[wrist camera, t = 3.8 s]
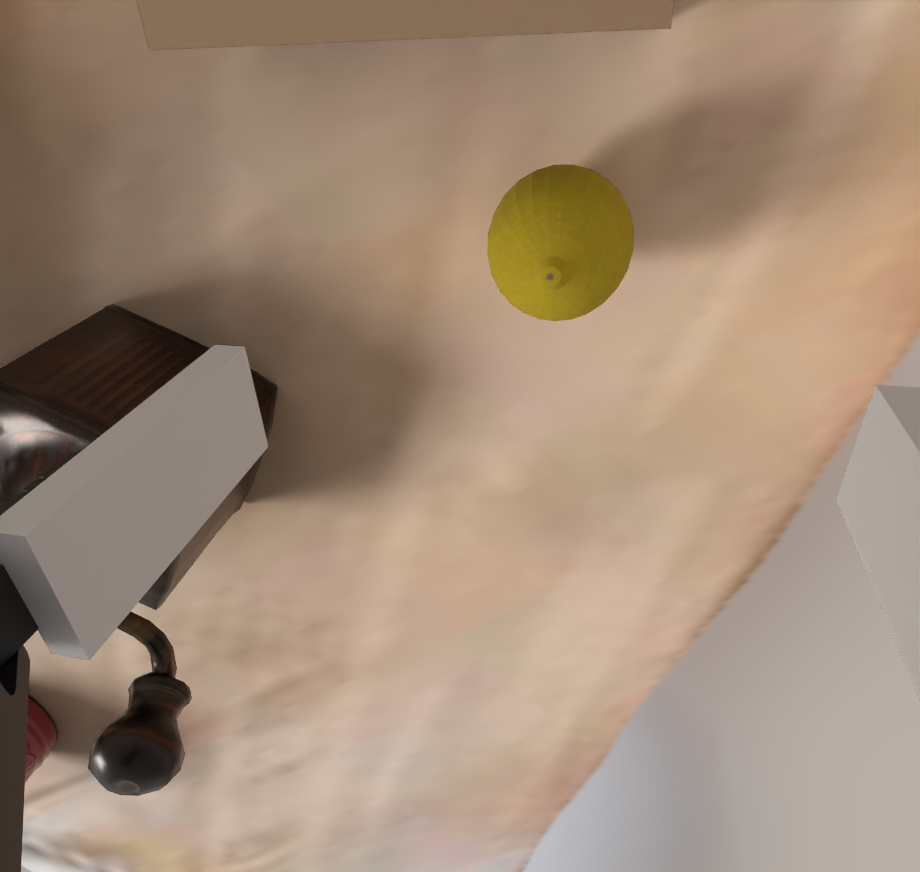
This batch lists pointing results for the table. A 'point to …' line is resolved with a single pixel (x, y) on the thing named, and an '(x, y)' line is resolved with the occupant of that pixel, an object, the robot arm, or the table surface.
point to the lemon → (560, 242)
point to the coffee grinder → (75, 427)
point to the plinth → (382, 20)
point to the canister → (38, 737)
